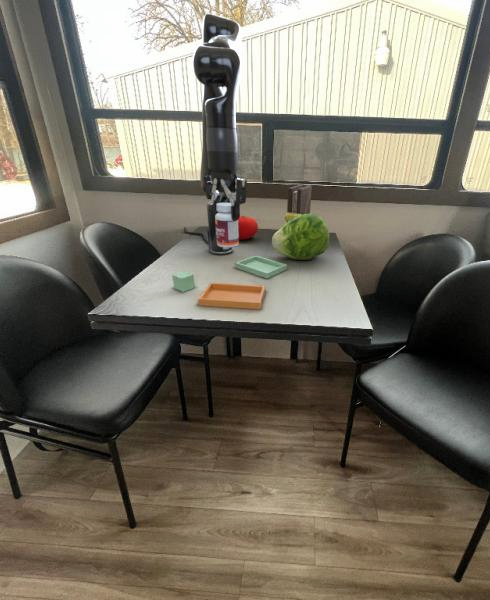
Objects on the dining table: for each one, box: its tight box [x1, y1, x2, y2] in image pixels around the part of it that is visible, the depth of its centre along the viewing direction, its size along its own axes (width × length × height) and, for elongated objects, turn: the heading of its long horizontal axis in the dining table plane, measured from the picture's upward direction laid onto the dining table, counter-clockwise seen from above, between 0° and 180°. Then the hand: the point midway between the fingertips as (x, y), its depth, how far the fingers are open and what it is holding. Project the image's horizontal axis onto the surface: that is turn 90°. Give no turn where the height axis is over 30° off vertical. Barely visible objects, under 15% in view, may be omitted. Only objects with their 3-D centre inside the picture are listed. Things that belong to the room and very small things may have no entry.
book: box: [284, 184, 313, 223], centre depth 144 cm, size 22×8×25 cm, turn 160°
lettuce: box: [271, 213, 330, 261], centre depth 120 cm, size 19×23×18 cm
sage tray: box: [234, 255, 288, 279], centre depth 111 cm, size 16×12×2 cm
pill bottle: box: [215, 203, 240, 248], centre depth 82 cm, size 6×6×11 cm
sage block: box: [172, 270, 196, 293], centre depth 93 cm, size 4×4×4 cm
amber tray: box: [197, 282, 266, 310], centre depth 88 cm, size 18×12×2 cm, turn 87°
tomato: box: [238, 215, 259, 241], centre depth 144 cm, size 12×14×11 cm
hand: (226, 217), depth 81 cm, fingers closed on pill bottle, 6 cm apart
